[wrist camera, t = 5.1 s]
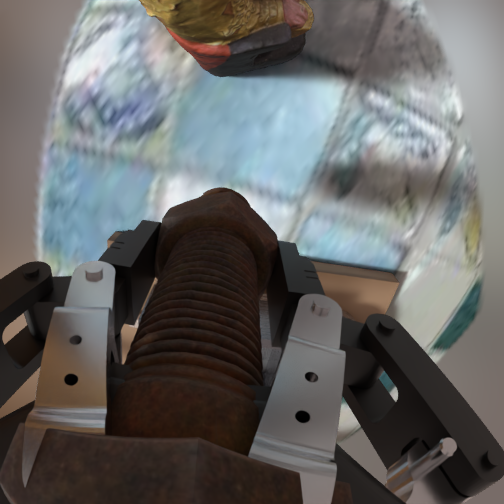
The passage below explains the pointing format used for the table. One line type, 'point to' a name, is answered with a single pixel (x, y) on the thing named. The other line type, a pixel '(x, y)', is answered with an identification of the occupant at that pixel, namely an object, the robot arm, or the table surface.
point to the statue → (235, 31)
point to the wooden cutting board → (326, 292)
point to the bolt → (180, 382)
